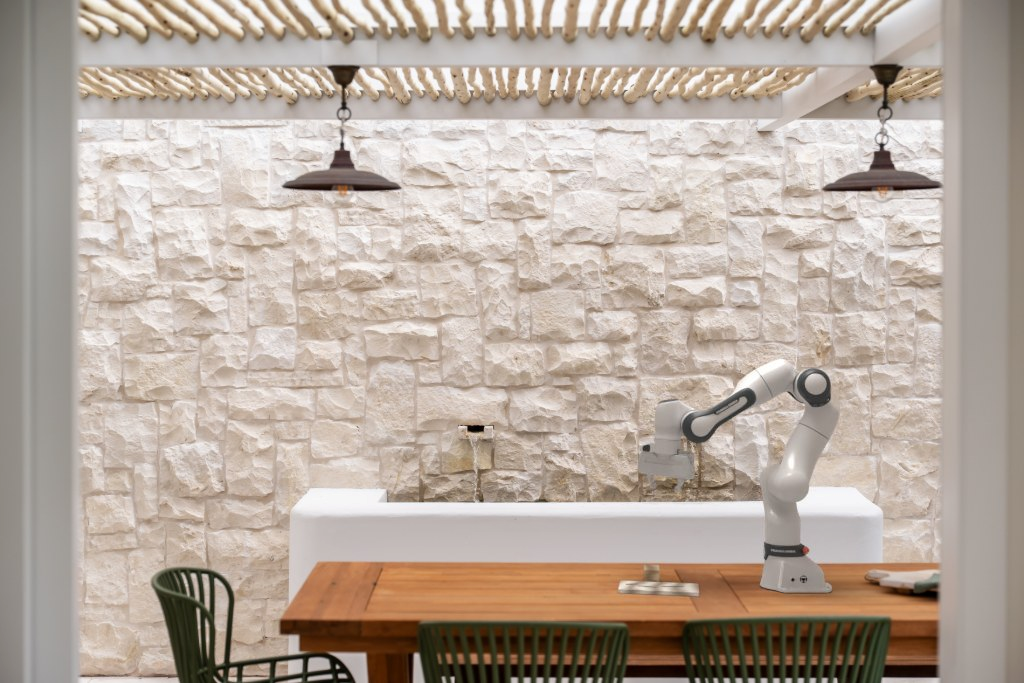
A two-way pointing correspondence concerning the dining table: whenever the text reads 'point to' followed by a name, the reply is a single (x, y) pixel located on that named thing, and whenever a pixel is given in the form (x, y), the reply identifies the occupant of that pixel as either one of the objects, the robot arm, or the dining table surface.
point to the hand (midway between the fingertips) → (665, 490)
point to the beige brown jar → (651, 573)
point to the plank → (658, 588)
